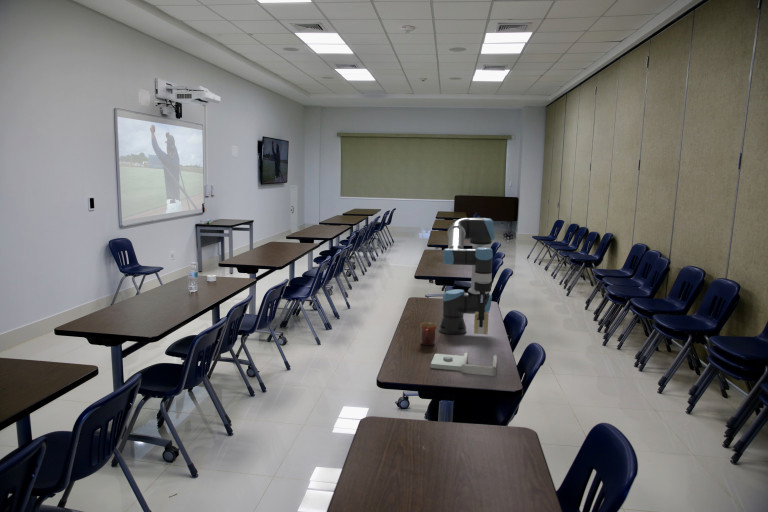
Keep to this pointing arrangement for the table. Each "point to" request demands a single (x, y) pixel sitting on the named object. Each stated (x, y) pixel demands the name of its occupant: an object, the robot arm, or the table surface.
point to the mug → (428, 333)
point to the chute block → (486, 315)
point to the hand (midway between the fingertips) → (481, 331)
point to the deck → (462, 364)
